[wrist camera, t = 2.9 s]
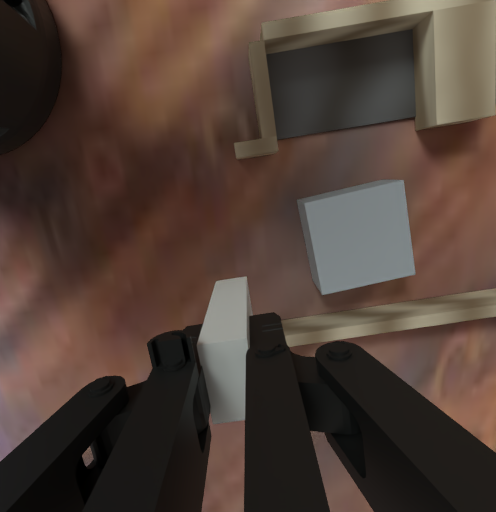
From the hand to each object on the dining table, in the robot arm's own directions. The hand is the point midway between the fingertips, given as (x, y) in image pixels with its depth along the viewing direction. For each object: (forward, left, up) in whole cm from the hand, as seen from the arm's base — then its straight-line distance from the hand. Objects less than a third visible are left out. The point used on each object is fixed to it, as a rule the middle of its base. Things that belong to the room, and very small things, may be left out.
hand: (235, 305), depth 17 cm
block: (+7, +5, -12) cm, 15 cm away
